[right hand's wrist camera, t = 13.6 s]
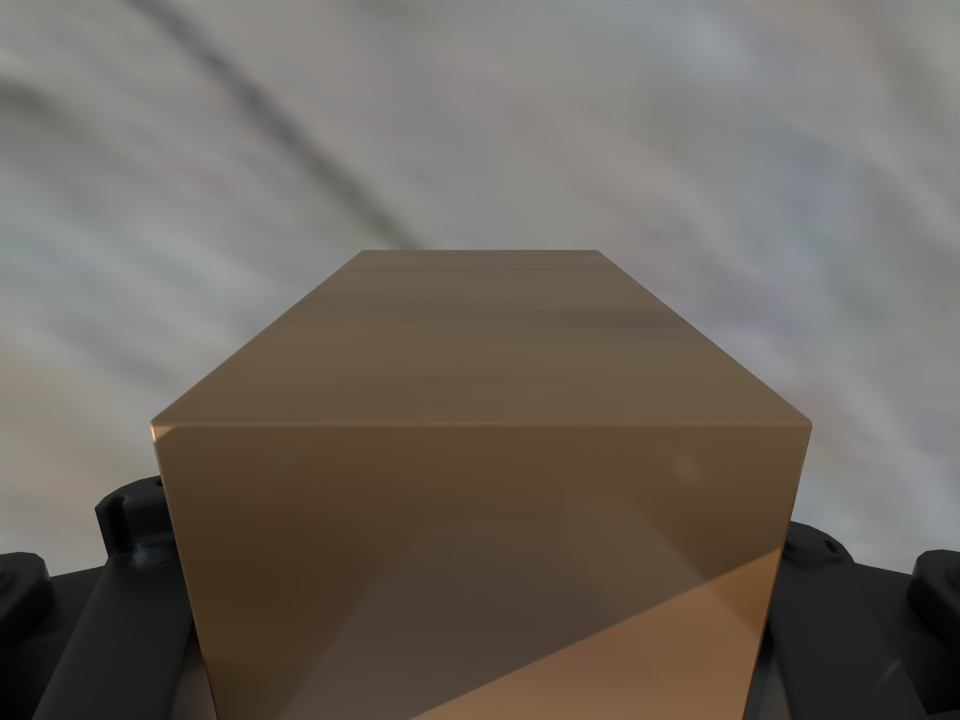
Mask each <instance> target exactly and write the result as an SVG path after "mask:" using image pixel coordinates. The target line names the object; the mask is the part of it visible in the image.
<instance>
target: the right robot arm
mask: <svg viewBox="0 0 960 720" xmlns="http://www.w3.org/2000/svg"><path fill="white" fill-rule="evenodd" d="M95 512H96V515H97V519H98V522H99V526H100V529H101V533H102V536H103V540H104V543H105V547H106V550H107V554H108V560H107V562H106V564H105V565H104V566H100V567H97V568H92V569H87V570H82V571H77V572H73V573H68V574H63V575H58V576H53V577H49V574H48V571H47V568H46V565H45V562H44V560H43V559H42V558H41V557H39V556H38V555H36V554H35V553H25V552H15V553H8V554H1V555H0V720H217V717H216V713H215V709H214V704H213V700H212V696H211V691H210V687H209V683H208V678H207V674H206V670H205V665H204V661H203V657H202V652H201V648H200V644H199V639H198V635H197V631H196V626H195V622H194V618H193V613H192V609H191V605H190V600H189V596H188V592H187V587H186V583H185V579H184V574H183V570H182V566H181V561H180V557H179V553H178V548H177V544H176V540H175V535H174V531H173V527H172V522H171V518H170V514H169V509H168V505H167V501H166V496H165V492H164V488H163V483H162V479H161V475H159V476H154V477H150V478H146V479H141V480H138V481H135V482H133V483H130V484H128V485H125V486H123V487H120V488H119V489H117V490H115V491H114V492H112V493H111V494H109V495H107V496H106V497H104V498H103V499H102V501H101V502H100V503H99V504H98V505H97V506H96V507H95ZM744 720H960V552H956V551H949V550H932V551H926V552H924V553H923V554H922V555H920V556H919V557H918V558H917V561H916V563H915V566H914V569H913V572H912V575H910V574H905V573H900V572H895V571H890V570H885V569H880V568H875V567H870V566H866V565H862V564H858V563H854V561H853V559H852V557H851V555H850V554H849V553H848V551H847V550H846V549H845V548H844V546H843V545H842V544H841V543H839V542H838V541H836V540H835V539H834V538H832V537H831V536H829V535H828V534H826V533H824V532H822V531H820V530H818V529H815V528H813V527H811V526H809V525H805V524H801V523H797V522H793V521H790V524H789V528H788V532H787V537H786V541H785V545H784V550H783V554H782V558H781V563H780V567H779V571H778V575H777V580H776V584H775V588H774V593H773V597H772V601H771V606H770V610H769V614H768V618H767V623H766V627H765V631H764V636H763V640H762V644H761V649H760V653H759V657H758V662H757V666H756V670H755V674H754V679H753V683H752V687H751V692H750V696H749V700H748V705H747V709H746V713H745V717H744Z"/></svg>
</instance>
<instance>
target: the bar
mask: <svg viewBox="0 0 960 720" xmlns="http://www.w3.org/2000/svg"><path fill="white" fill-rule="evenodd" d="M811 429H812V423H811V421H810V420H809V419H808V418H807V417H806V416H804V415H803V414H802V413H801V412H799V411H798V410H797V409H796V408H794V407H793V406H792V405H791V404H789V403H788V402H787V401H786V400H784V399H783V398H782V397H781V396H779V395H778V394H777V393H776V392H774V391H773V390H772V389H771V388H769V387H768V386H767V385H766V384H764V383H763V382H762V381H761V380H759V379H758V378H757V377H756V376H754V375H753V374H752V373H751V372H749V371H748V370H747V369H746V368H744V367H743V366H742V365H741V364H739V363H738V362H737V361H736V360H734V359H733V358H732V357H731V356H729V355H728V354H727V353H726V352H724V351H723V350H722V349H721V348H719V347H718V346H717V345H716V344H714V343H713V342H712V341H711V340H709V339H708V338H707V337H706V336H704V335H703V334H702V333H701V332H699V331H698V330H697V329H696V328H694V327H693V326H692V325H691V324H689V323H688V322H687V321H686V320H684V319H683V318H682V317H681V316H679V315H678V314H677V313H676V312H674V311H673V310H672V309H671V308H669V307H668V306H667V305H665V304H664V303H663V302H662V301H660V300H659V299H658V298H657V297H655V296H654V295H653V294H652V293H650V292H649V291H648V290H647V289H645V288H644V287H643V286H642V285H640V284H639V283H638V282H637V281H635V280H634V279H633V278H632V277H630V276H629V275H628V274H627V273H625V272H624V271H623V270H622V269H620V268H619V267H618V266H617V265H615V264H614V263H613V262H612V261H610V260H609V259H608V258H607V257H605V256H604V255H603V254H602V253H600V252H599V251H597V250H363V251H361V252H360V253H359V254H357V255H356V256H355V257H354V258H352V259H351V260H350V261H349V262H347V263H346V264H345V265H344V266H342V267H341V268H340V269H339V270H337V271H336V272H335V273H334V274H332V275H331V276H330V277H329V278H327V279H326V280H325V281H324V282H322V283H321V284H320V285H319V286H317V287H316V288H315V289H314V290H313V291H311V292H310V293H309V294H308V295H306V296H305V297H304V298H303V299H301V300H300V301H299V302H298V303H296V304H295V305H294V306H293V307H291V308H290V309H289V310H288V311H286V312H285V313H284V314H283V315H281V316H280V317H279V318H278V319H276V320H275V321H274V322H273V323H271V324H270V325H269V326H268V327H266V328H265V329H264V330H263V331H262V332H260V333H259V334H258V335H257V336H255V337H254V338H253V339H252V340H250V341H249V342H248V343H247V344H245V345H244V346H243V347H242V348H240V349H239V350H238V351H237V352H235V353H234V354H233V355H232V356H230V357H229V358H228V359H227V360H225V361H224V362H223V363H222V364H220V365H219V366H218V367H217V368H216V369H214V370H213V371H212V372H211V373H209V374H208V375H207V376H206V377H204V378H203V379H202V380H201V381H199V382H198V383H197V384H196V385H194V386H193V387H192V388H191V389H189V390H188V391H187V392H186V393H184V394H183V395H182V396H181V397H179V398H178V399H177V400H176V401H174V402H173V403H172V404H171V405H169V406H168V407H167V408H166V409H165V410H163V411H162V412H161V413H160V414H158V415H157V416H156V417H155V418H153V419H152V420H151V422H150V432H151V436H152V440H153V444H154V449H155V453H156V457H157V462H158V466H159V470H160V475H161V479H162V483H163V488H164V492H165V496H166V501H167V505H168V509H169V514H170V518H171V522H172V527H173V531H174V535H175V540H176V544H177V548H178V553H179V557H180V561H181V566H182V570H183V574H184V579H185V583H186V587H187V592H188V596H189V600H190V605H191V609H192V613H193V618H194V622H195V626H196V631H197V635H198V639H199V644H200V648H201V652H202V657H203V661H204V665H205V670H206V674H207V678H208V683H209V687H210V691H211V696H212V700H213V704H214V709H215V713H216V717H217V720H744V717H745V713H746V709H747V705H748V700H749V696H750V692H751V687H752V683H753V679H754V674H755V670H756V666H757V662H758V657H759V653H760V649H761V644H762V640H763V636H764V631H765V627H766V623H767V618H768V614H769V610H770V606H771V601H772V597H773V593H774V588H775V584H776V580H777V575H778V571H779V567H780V563H781V558H782V554H783V550H784V545H785V541H786V537H787V532H788V528H789V524H790V519H791V515H792V511H793V507H794V502H795V498H796V494H797V489H798V485H799V481H800V476H801V472H802V468H803V464H804V459H805V455H806V451H807V446H808V442H809V438H810V433H811Z"/></svg>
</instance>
